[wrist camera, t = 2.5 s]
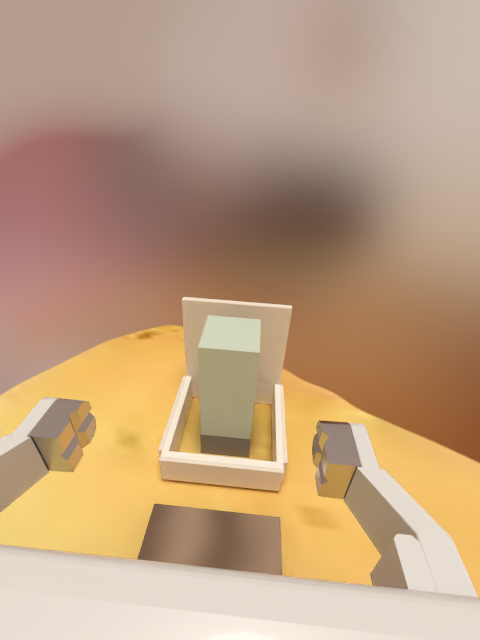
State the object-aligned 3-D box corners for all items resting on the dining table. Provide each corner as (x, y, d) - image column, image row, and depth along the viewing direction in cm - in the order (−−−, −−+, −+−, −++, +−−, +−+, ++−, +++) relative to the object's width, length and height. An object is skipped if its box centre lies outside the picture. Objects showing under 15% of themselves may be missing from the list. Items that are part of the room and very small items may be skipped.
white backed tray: (158, 481, 29) (139, 372, 22) (186, 392, 39) (179, 296, 32) (283, 494, 29) (308, 387, 21) (279, 401, 39) (295, 306, 31)
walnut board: (111, 657, 20) (109, 653, 19) (155, 509, 27) (154, 503, 27) (282, 679, 19) (284, 676, 19) (278, 522, 27) (280, 517, 26)
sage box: (201, 452, 32) (197, 347, 25) (209, 414, 36) (208, 315, 29) (248, 457, 32) (259, 352, 24) (250, 419, 36) (260, 319, 29)
